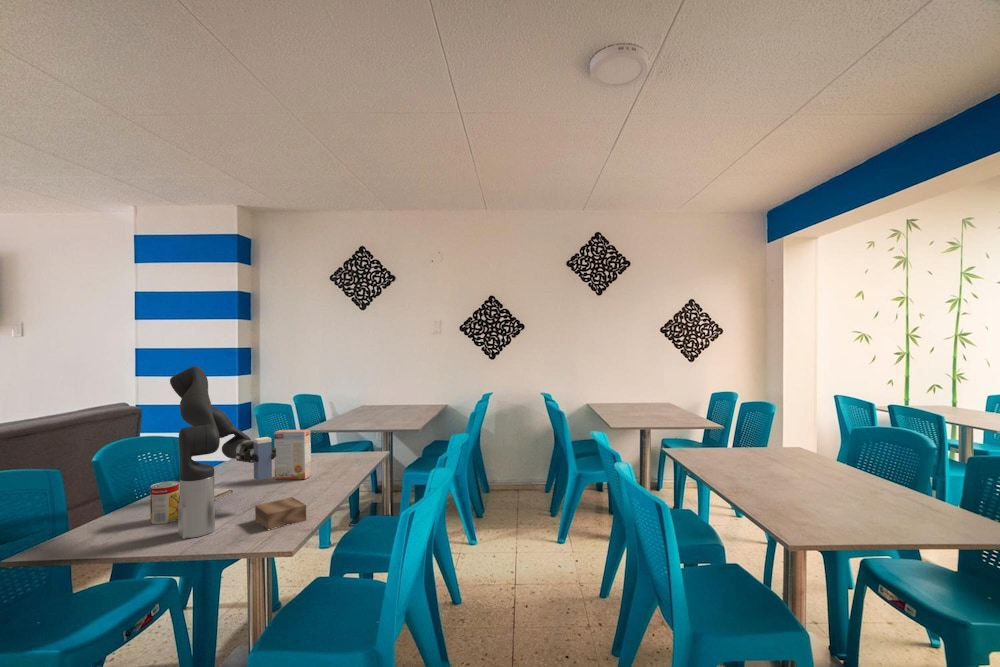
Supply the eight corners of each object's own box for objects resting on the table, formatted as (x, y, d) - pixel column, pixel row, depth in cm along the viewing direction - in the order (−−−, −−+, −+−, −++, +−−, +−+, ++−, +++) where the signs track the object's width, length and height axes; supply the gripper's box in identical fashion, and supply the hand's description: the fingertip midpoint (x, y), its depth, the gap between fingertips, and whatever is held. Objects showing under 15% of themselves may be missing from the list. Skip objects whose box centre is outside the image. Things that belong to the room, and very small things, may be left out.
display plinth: (268, 530, 151) (268, 514, 151) (255, 520, 159) (255, 505, 159) (306, 520, 159) (306, 504, 159) (292, 511, 168) (291, 497, 168)
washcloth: (168, 508, 174) (168, 500, 175) (208, 493, 192) (208, 485, 192) (195, 510, 172) (195, 502, 172) (233, 494, 189) (233, 487, 189)
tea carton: (258, 480, 168) (257, 440, 168) (253, 478, 171) (253, 438, 172) (271, 477, 171) (271, 438, 172) (267, 475, 174) (267, 436, 175)
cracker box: (311, 476, 212) (311, 429, 213) (304, 480, 206) (304, 431, 207) (281, 475, 214) (281, 429, 214) (274, 479, 208) (273, 431, 208)
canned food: (181, 514, 167) (181, 479, 167) (175, 522, 159) (175, 486, 160) (154, 517, 164) (154, 482, 164) (147, 525, 156) (147, 489, 157)
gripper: (228, 444, 177) (243, 450, 165) (269, 438, 187) (286, 443, 175) (228, 464, 177) (243, 472, 164) (269, 457, 187) (286, 464, 174)
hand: (265, 457), depth 170 cm, fingers closed on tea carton, 4 cm apart
